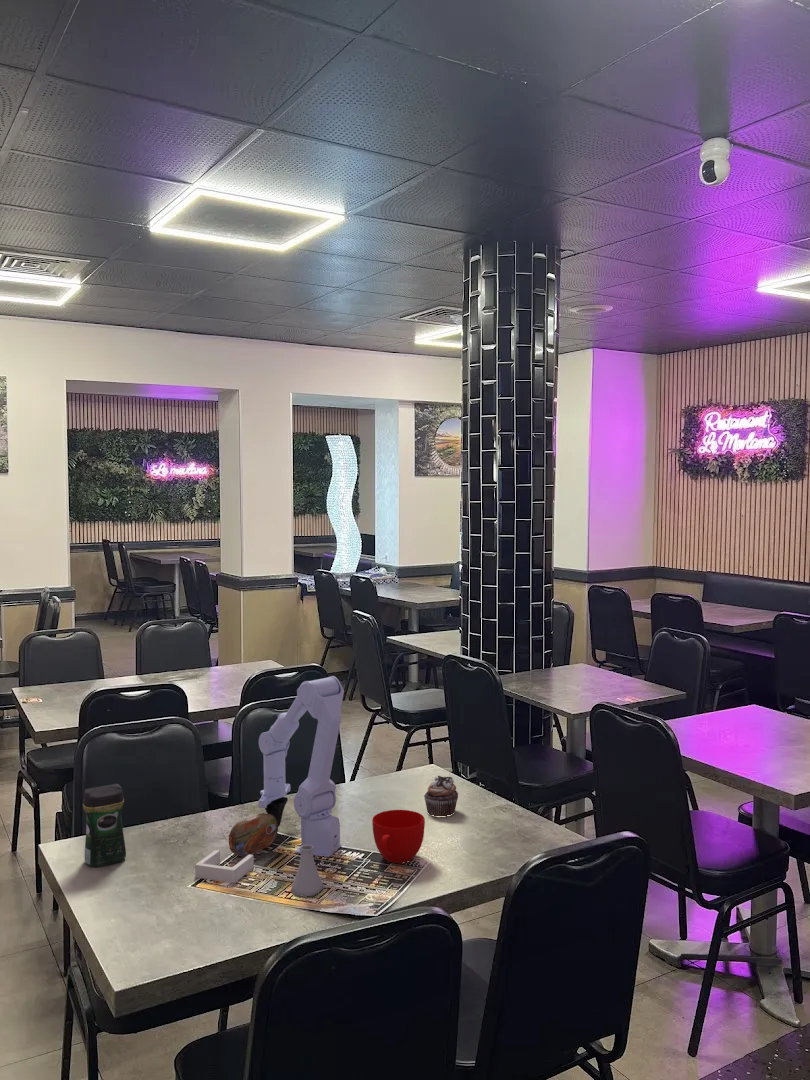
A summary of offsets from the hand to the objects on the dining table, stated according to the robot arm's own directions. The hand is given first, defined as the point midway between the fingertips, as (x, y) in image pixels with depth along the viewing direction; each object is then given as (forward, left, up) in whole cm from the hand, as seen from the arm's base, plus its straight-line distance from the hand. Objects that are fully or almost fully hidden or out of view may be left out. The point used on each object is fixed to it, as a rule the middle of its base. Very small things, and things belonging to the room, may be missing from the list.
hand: (275, 826), depth 230 cm
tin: (0, +12, -2) cm, 12 cm away
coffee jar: (+32, +29, -2) cm, 43 cm away
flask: (-23, +29, -2) cm, 37 cm away
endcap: (0, +25, -2) cm, 26 cm away
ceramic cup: (-37, +8, -2) cm, 38 cm away
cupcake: (-38, -28, -2) cm, 47 cm away
